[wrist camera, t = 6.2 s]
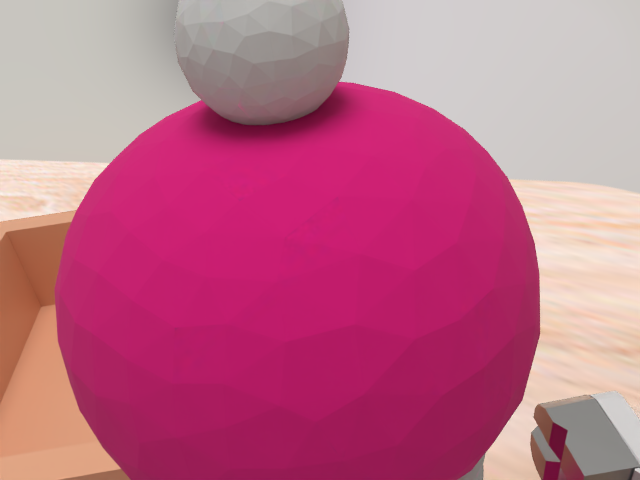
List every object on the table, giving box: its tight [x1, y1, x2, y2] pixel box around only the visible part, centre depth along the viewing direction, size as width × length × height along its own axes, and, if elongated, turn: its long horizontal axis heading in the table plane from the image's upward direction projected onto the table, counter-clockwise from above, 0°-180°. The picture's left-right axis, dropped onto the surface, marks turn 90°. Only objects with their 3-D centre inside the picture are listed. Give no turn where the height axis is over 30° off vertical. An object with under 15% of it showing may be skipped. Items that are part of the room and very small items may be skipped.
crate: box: [0, 210, 130, 480], centre depth 26 cm, size 17×17×6 cm
